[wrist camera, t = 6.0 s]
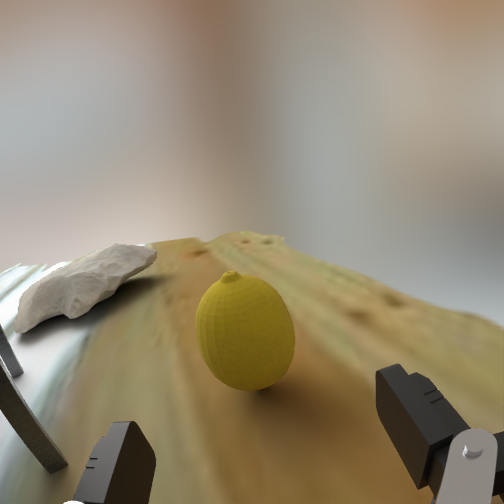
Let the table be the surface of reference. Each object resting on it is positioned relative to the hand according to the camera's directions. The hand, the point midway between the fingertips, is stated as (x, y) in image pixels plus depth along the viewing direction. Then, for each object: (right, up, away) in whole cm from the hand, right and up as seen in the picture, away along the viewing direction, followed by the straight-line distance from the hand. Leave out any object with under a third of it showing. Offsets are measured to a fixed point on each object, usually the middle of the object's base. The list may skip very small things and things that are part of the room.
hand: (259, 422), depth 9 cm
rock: (-24, -2, +35) cm, 43 cm away
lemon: (0, -3, +10) cm, 11 cm away
